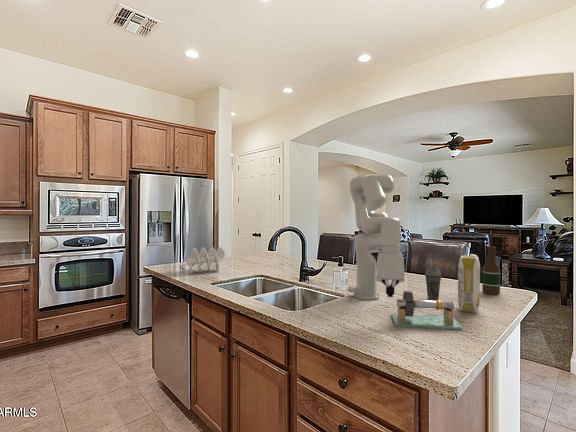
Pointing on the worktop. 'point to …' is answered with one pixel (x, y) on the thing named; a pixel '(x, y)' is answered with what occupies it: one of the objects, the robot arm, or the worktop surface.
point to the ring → (409, 303)
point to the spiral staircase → (206, 258)
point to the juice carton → (469, 283)
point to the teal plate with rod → (427, 320)
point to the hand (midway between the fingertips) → (390, 296)
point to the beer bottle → (491, 273)
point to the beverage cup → (433, 282)
